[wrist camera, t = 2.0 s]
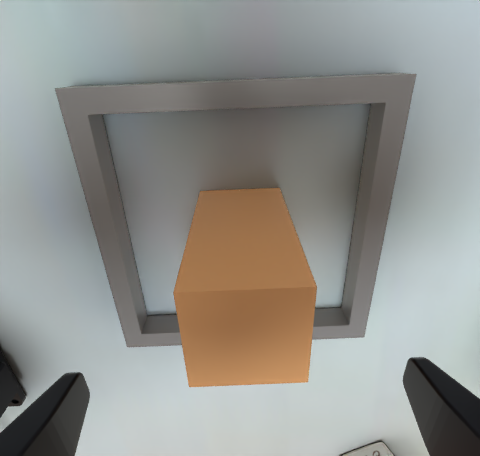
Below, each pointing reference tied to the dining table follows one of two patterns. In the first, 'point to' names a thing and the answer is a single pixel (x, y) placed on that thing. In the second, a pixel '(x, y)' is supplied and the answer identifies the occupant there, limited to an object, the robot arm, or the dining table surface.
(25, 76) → the dining table surface
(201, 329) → the plug block
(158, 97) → the gray square frame
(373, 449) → the skincare box
